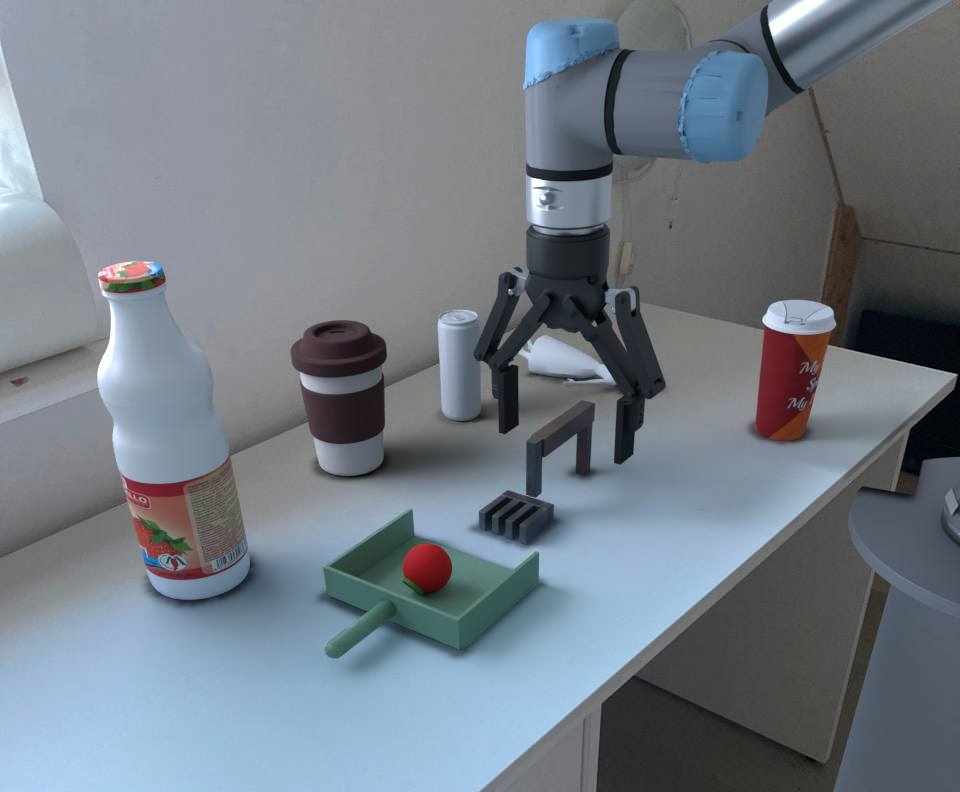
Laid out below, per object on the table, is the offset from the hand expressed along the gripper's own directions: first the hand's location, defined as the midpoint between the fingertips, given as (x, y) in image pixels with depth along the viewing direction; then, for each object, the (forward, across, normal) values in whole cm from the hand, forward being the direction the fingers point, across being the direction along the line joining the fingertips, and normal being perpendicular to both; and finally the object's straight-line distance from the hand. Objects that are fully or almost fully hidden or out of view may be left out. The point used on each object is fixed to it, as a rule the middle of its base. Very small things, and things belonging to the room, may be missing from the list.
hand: (564, 443), depth 100 cm
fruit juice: (+5, -20, -32) cm, 38 cm away
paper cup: (+6, +14, +26) cm, 30 cm away
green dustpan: (+5, 0, -26) cm, 27 cm away
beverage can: (+5, -20, +10) cm, 23 cm away
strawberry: (+3, -1, -23) cm, 23 cm away
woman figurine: (+6, -13, +27) cm, 31 cm away
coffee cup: (+5, -23, -7) cm, 25 cm away
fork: (+5, 0, -3) cm, 6 cm away
